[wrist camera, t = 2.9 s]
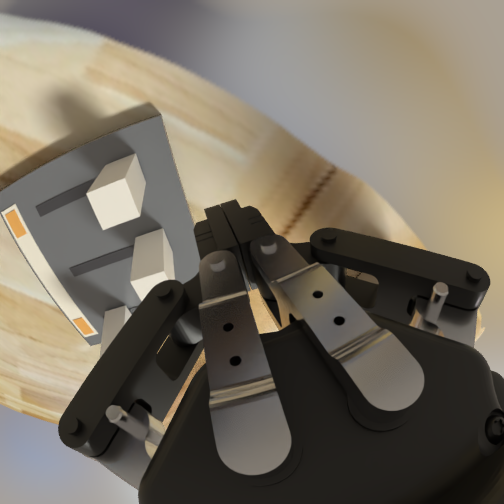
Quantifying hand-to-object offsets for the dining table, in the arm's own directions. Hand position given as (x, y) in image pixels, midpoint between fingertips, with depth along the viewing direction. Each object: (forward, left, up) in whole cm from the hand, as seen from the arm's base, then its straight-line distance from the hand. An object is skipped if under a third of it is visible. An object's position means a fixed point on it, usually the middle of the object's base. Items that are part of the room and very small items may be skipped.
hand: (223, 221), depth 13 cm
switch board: (+12, +8, -15) cm, 21 cm away
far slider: (+15, +16, -14) cm, 25 cm away
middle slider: (+7, +8, -14) cm, 17 cm away
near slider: (+7, 0, -14) cm, 15 cm away
